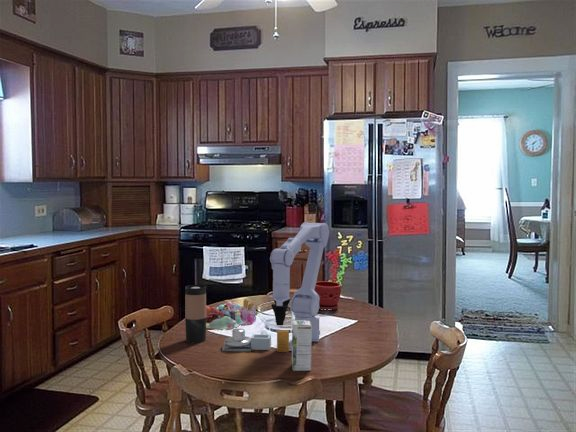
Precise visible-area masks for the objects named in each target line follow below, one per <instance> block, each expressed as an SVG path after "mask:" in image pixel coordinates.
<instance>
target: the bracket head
mask: <svg viewBox="0 0 576 432" xmlns="http://www.w3.org/2000/svg"><path fill="white" fill-rule="evenodd" d="M250 338H251V347H252V350H256V351H257V350H258V351H259V350H264V351H266V350H267V351H270V349H271V347H272V334H268V331H267V330H262V331H261V332H260V334H259V333H252V335H251V336H250Z"/></svg>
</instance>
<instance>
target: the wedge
mask: <svg viewBox="0 0 576 432" xmlns="http://www.w3.org/2000/svg"><path fill="white" fill-rule="evenodd" d="M289 351H290V329H277V330H276V352H278V353H281V352H282V353H283V352H284V353H289Z"/></svg>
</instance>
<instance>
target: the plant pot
mask: <svg viewBox="0 0 576 432" xmlns="http://www.w3.org/2000/svg"><path fill="white" fill-rule="evenodd" d="M314 291H315V292H316V293H317V294H318V295H319V297H320V300H319V309H326V310H328V309H335V310H337V309H338V308H339V301H340V299H341V293H342V284H341V283H338V282H336V281H329V280H328V281H327V280H326V281H325V280H323V281H321V280H319V281H316V285H315V290H314ZM336 308H337V309H336Z"/></svg>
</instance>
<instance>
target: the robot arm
mask: <svg viewBox="0 0 576 432" xmlns="http://www.w3.org/2000/svg"><path fill="white" fill-rule="evenodd" d="M329 238H330V229H329V226H328V223H326V222H307V221H304V222H303V223H301V225H300V228H299V231H298V233H297V234H296V235H295V236H294V237H288V238H287V240H286V241H284V243H283V244H282V245H281V246H280V247H279V248H274V249H273V250H272V251H271V252H270V257H269V261H270V263H271V270H273V271H272V273H273V274H272V278H273V279H272V295H271V294H270V295H269V299H273V302H274V303H271V309H272V310H273V313H274V317H275V318H274V319H275V324H276V326H279V327H282V326H284V324H285V323H284V322H285V319H286V316H287V309H288V308H289V309H290V311H291V312H292V313H293V315H294V321H296V320H305V321H310V323H311V325H312V342H320V336H321V330H320V315H317V314H318V312H319V300H320V297H319V295H318V294H317V293H316V292H315V291H314V290H315V285H316V282H318V281H317V279H318V275H319V271H320V266H321V262H322V257H323V253H324V248H326V247H327V245H328V241H329ZM303 244H305V246H307V247H308V248H309V250H308V251H309V252H308V255H307V260H306V265H305V269H304V273H303V278H302V282H301V286H300V288H298V289H296V291H294V293H293V296H292V297H291V296H290V288H291V287H290V285H291V284H290V283H291V282H290V279H291V277H290V276H291V274H290V273H291V265H293V262H294V259H295V257H296V255H297V254H298V253H299V252H300V251H301V250H302V245H303Z"/></svg>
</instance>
